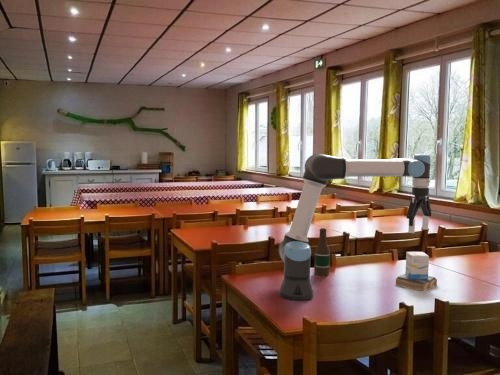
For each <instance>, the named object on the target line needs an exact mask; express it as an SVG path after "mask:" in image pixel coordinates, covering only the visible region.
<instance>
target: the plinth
mask: <svg viewBox="0 0 500 375" xmlns="http://www.w3.org/2000/svg"><path fill="white" fill-rule="evenodd" d="M437 284H438V279H437V278H436V277H434V276H431V275H428V279H410V278H409V277H408V276H407V275H406V274H405V273H404V274H401V275H398V276H397V277H395V286H399V287H404V288H407V289H412V290H414V291H415V290H416V291H420V292H422V291H423V292H425V291H428V290H429V289H432V288H434V287H436V286H437Z"/></svg>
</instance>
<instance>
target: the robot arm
mask: <svg viewBox="0 0 500 375" xmlns="http://www.w3.org/2000/svg"><path fill="white" fill-rule="evenodd" d="M430 173H431V156H430V155H429V154H414V155H413V158H396V157H395V158H390V159H347V158H346V157H343V156H334V155H333V156H332V155H328V154H323V153H314V154H312V155H310V156H309V157H307V159H306V160H305V163H304V173H303V176H302V180H303V183H304V184H303V187H302V190H301V192H300V193H301V194H300V196H299V199H298V202H297V206H296V209H295V212H294V215H293V218H292V222H291V225H290V228H289V230H288V231H287V232H285V233H284V236H283V239H282V241H280V244H279V246H278V254H279V257H280V259H281V260H282V261H283V280H282V283H281V285H280V289H279V296H280V297H281V298H282V299H285V300H287V301H295V302H303V301H308V300H309V301H310V300H311V299H313V298H314V293H315V292H314V289H313V285H312V281H311V256H312V249H311V246H310V245H309V241H310V240H309V239H308V234H309V231H310V227H311V224H312V222H313V218H314V215H315V212H316V210H317V206H318V201H319V199H320V196H321V192H322V190H323V188H324V187H327V184H328V182H329V181H331V180H344V179H346V178H348V177H350V178H351V177H352V178H353V177H355V178H357V177H359V178H361V177H362V178H363V177H365V178H366V177H379V178H381V177H403V178H404V177H407V178H408V177H411V178H412V188H411V195H412V196H414V197H411V198H410V203H409V207H408V209H407V213H406V219H408V230H407V231H408V233H411V234H415V231H416V219H415V218H416V215H417V213H418V211H419V209H421V212H422V213H423V215H422V225H421V229H422V230H427V231H428V230H429V223H430V222H429V221H430V220H429V218H430V217H431V216H432V209H431V203H430V196H429V194H430V188H429V186H430V183H431V182H430V177H431V176H430Z"/></svg>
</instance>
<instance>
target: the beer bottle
mask: <svg viewBox="0 0 500 375" xmlns="http://www.w3.org/2000/svg"><path fill="white" fill-rule="evenodd" d="M318 231H319V236H318V237H319V239H318V244H317V245H316V247H315V250H314V268H313V269H314V270H313V271H314V275H316V276H320V277H326V276H329V275H330V265H331V263H330V262H331V261H330V260H331V252H330V247H329V245H328V243H327V232H328V230H327V228H319V230H318Z"/></svg>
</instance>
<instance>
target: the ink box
mask: <svg viewBox="0 0 500 375" xmlns="http://www.w3.org/2000/svg"><path fill="white" fill-rule="evenodd" d="M405 253H406V254H405V255H406V256H405V273H404V274H406V275H407V276H408V277H409V278H410V279H428V276H429V264H430V263H429V262H430V256H429V255H428V254H427V253H425V251H406V252H405Z"/></svg>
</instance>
